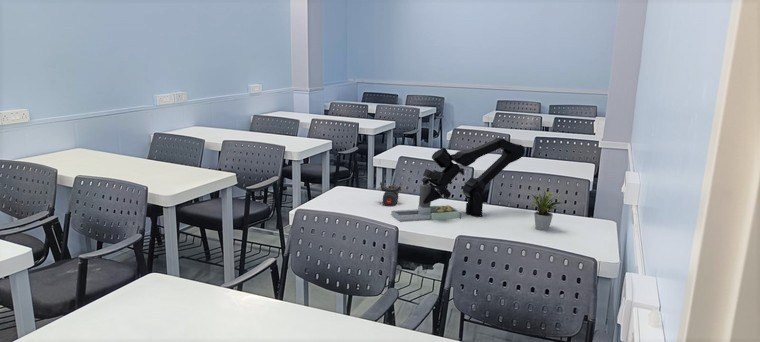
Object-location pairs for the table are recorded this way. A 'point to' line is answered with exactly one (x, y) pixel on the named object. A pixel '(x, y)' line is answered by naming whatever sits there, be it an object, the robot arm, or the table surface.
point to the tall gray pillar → (423, 194)
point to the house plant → (544, 211)
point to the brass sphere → (439, 210)
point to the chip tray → (444, 213)
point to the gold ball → (448, 209)
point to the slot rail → (410, 215)
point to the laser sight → (390, 194)
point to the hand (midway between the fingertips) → (422, 202)
